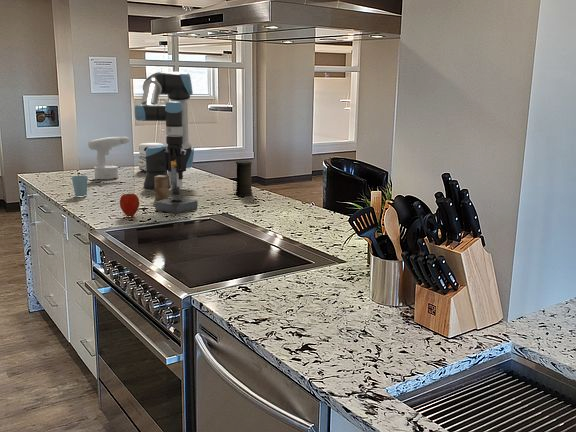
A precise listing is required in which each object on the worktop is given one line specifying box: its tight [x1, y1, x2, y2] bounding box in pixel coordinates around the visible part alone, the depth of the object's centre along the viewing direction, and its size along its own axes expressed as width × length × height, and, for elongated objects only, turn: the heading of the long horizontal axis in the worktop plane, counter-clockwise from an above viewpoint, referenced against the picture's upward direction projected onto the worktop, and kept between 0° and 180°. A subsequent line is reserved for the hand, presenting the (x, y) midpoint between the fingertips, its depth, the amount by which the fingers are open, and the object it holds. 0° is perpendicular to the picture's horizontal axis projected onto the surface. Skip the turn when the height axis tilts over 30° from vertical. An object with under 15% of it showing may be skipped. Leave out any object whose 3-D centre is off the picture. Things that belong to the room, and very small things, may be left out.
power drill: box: [87, 136, 130, 180], centre depth 345 cm, size 8×24×25 cm, turn 122°
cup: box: [71, 175, 89, 197], centre depth 294 cm, size 8×8×10 cm
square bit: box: [154, 175, 170, 201], centre depth 291 cm, size 5×5×12 cm
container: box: [235, 160, 253, 197], centre depth 305 cm, size 9×9×18 cm
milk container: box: [138, 142, 164, 173], centre depth 372 cm, size 17×17×18 cm
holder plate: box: [154, 196, 199, 215], centre depth 271 cm, size 14×14×4 cm
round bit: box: [170, 160, 181, 196], centre depth 267 cm, size 4×4×16 cm
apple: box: [119, 193, 140, 217], centre depth 254 cm, size 9×8×11 cm
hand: (175, 185), depth 268 cm, fingers closed on round bit, 4 cm apart
